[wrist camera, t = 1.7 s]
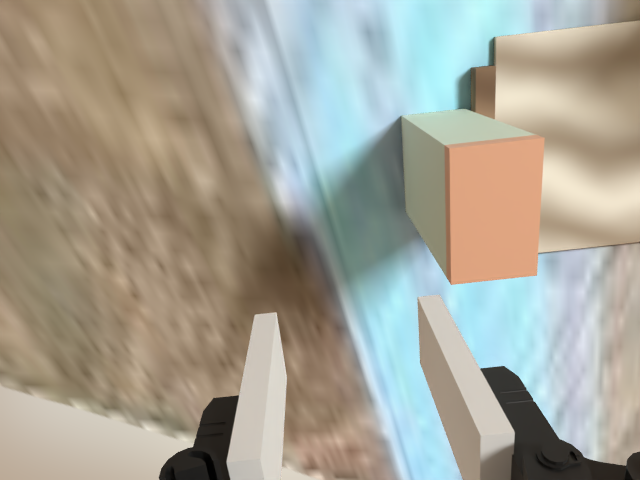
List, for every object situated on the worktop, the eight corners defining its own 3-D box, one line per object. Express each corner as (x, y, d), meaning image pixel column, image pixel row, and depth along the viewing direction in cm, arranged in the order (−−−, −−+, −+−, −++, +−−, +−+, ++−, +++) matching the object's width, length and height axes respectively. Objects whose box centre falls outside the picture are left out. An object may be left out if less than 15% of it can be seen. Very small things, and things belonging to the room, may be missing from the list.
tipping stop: (470, 39, 37) (476, 39, 36) (708, 12, 37) (720, 11, 36) (470, 258, 43) (474, 263, 42) (671, 236, 43) (681, 241, 42)
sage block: (401, 115, 39) (449, 148, 26) (464, 108, 39) (544, 137, 26) (405, 211, 42) (451, 284, 29) (464, 204, 42) (536, 275, 29)
